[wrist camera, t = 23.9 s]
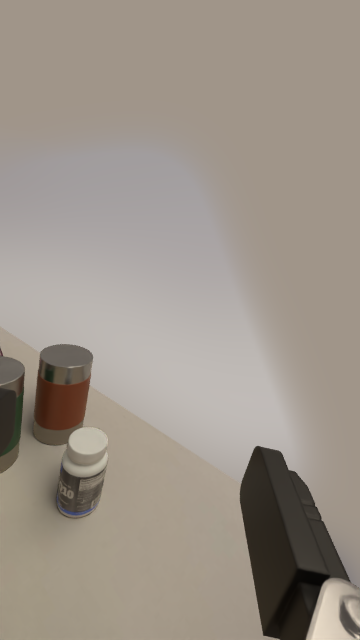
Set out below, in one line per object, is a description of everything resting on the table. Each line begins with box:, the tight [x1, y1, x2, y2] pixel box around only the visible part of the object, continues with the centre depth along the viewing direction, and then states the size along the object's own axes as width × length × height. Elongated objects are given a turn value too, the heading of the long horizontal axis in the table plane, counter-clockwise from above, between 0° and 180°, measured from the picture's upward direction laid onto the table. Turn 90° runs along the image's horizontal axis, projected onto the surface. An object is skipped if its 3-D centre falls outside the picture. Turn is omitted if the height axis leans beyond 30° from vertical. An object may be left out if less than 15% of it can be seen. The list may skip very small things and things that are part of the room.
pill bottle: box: [57, 427, 108, 518], centre depth 31 cm, size 5×5×8 cm
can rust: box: [33, 344, 93, 445], centre depth 40 cm, size 7×7×12 cm
